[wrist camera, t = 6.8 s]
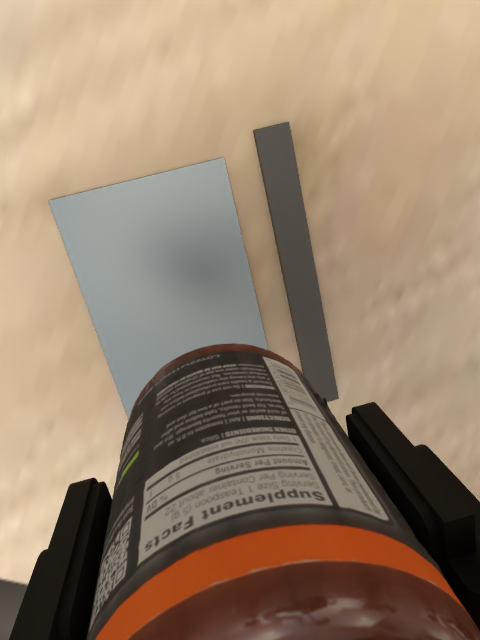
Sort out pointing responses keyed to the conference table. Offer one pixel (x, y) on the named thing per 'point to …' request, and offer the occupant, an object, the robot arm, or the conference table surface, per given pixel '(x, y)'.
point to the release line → (296, 255)
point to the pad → (160, 269)
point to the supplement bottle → (257, 519)
